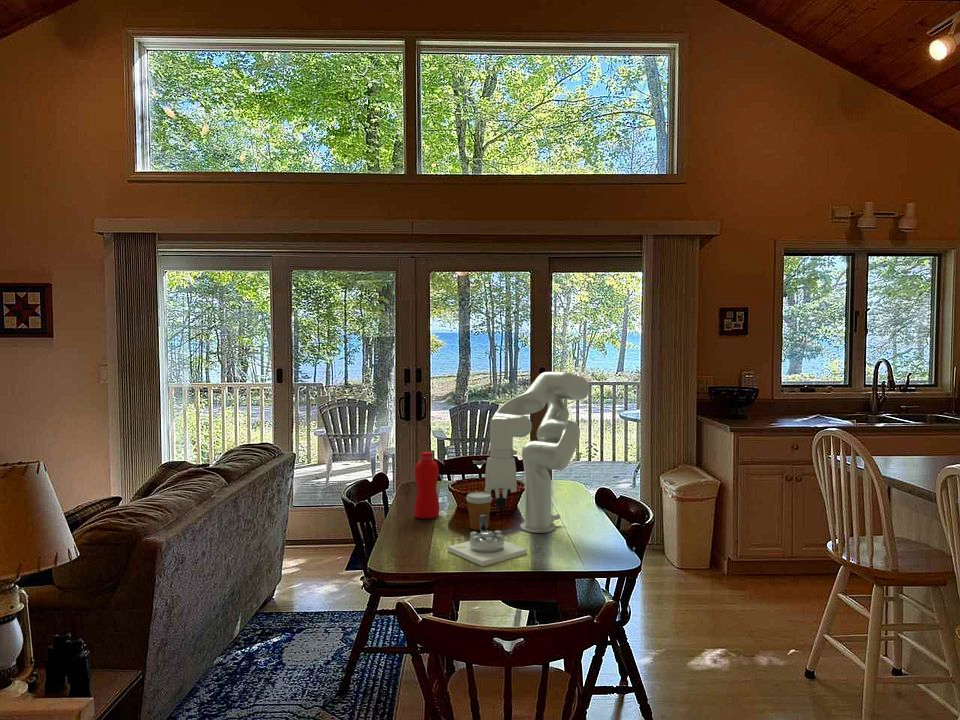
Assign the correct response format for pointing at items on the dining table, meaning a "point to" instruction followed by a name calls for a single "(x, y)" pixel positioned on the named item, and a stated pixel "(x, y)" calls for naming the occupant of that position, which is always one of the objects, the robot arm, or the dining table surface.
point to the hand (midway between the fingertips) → (500, 509)
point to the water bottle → (426, 487)
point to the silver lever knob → (486, 539)
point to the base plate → (487, 558)
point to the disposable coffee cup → (478, 507)
